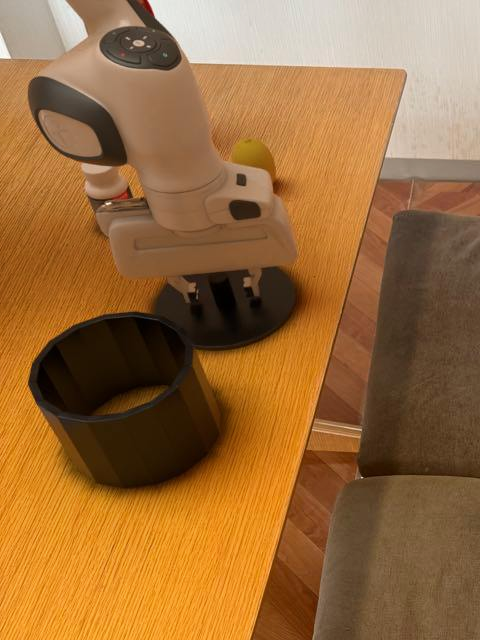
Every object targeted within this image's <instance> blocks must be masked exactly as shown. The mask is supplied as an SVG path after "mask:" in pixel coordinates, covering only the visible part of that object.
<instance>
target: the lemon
mask: <svg viewBox="0 0 480 640" xmlns="http://www.w3.org/2000/svg"><path fill="white" fill-rule="evenodd" d="M231 151H232V152H231V163H235V164H239V165H244V166H249V167H254V168H259V169H263V170H266V171H267V172H268V173H269V174H270V177H271V181H272V185H273V184H274V182H275V180H276V175H277V168H276V162H275V160H274V157H273V155H272V153H271V151H270V149H269V147H268V146H267V145H266V144H265V143H264V142H262V141H261V140H260V139H258V138H254V137H249V136H246V137H244V138H243V139H240V140H239V141H238V142H236V144H235V145H234V146H233V149H232V150H231Z"/></svg>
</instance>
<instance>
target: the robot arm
mask: <svg viewBox="0 0 480 640" xmlns="http://www.w3.org/2000/svg"><path fill="white" fill-rule="evenodd" d="M64 1H65V2H66V3H67V5H68V6H69V7H70V8H71V9H72V10H73V12H75V13H76V15H77V16H78V17H79V18H80V19H81V20H82V22H83V24H84V23H85V25H86V27H87V30H88V34H89V36H88V35H87V37H86V38H84V39H83V40H81V41H80V42H79V43H77V44H76V45H75V46H73V47H72V48H70V49H69V50H68V51H66V52H63V53H62V54H61V55H60V56H58V57H57V58H55V59H54V60H52V61H51V62H50V63H49V64H47V65H46V66H45V67H44V68H41V70H39V71H38V72H37V73H36V75H35V76H34V77H33V78H31V80H30V81H29V83H28V86H27V101H28V107H29V111H30V113H31V116H32V118H33V121H34V122H35V125H36V126H37V128H38V130H39V131H40V133H41V134H42V137H44V139H45V140H46V142H47V143H48V144H49V145H50V146H51V147H52V148H53V149H54V150H55V151H56V152H57V153H59V154H60V155H61V156H64V157H66V158H67V159H70V160H73V161H75V162H78V163H81V164H83V163H86V164H92V165H100V166H111V167H117V168H119V167H124V166H125V165H128V166H131V167H132V168H133V169H134V170H135V172H136V175H137V179H138V181H139V184H140V187H141V189H142V193H143V195H144V196H141V197H134V198H131V199H126V200H109V201H106V202H105V205H102V206H100V207H99V208H98V209H97V211H96V216H95V220H96V222H97V224H98V227H99V229H100V231H101V232H102V233H103V235H104V236H106V237H107V238H108V239H109V245H110V250H111V254H112V257H113V260H114V265H115V267H116V270H117V271H118V272H117V273H118V274H119V275H120V276H122V277H123V278H125V279H126V280H128V281H138V280H149V279H150V280H151V279H161V278H166V280H167V283H169V284H170V285H172V286H173V287H174V288H175V289H177V290H178V291H179V292H181V293H183V296H184V298H185V301H186V303H196V302H199V301H200V300H199V298H200V294H199V290H198V289H197V285H196V283H188V282H187V281H186V280H185V279H184V278H183V277H182V275H192V274H203V273H213V272H223V271H233V270H244V269H248V271H249V274H250V275H251V276H250V277H246V278H244V290H245V292H246V297H256V296H259V286H258V282H259V279H260V277H261V274H262V268H264V267H275V266H276V267H285V266H293V265H294V264H295V263H296V262H297V260H298V258H299V254H300V253H299V242H298V241H299V240H298V237H297V232H296V230H295V227H294V224H293V221H292V219H291V216H290V213H289V211H288V209H287V207H286V204H285V203H284V201H283V200H282V199H281V197H279V195H277V194H276V193H274V187H273V184H272V181H271V177H270V174H269V173H268V172H267V171H266V170H263V169H259V168H254V167H249V166H244V165H239V164H235V163H232V161H231V162H230V161H227V160H224V159H222V155H221V154H220V152H219V150H218V149H217V147H216V146H215V143H214V141H213V125H212V119H211V116H210V112H209V110H208V106H207V103H206V100H205V97H204V94H203V91H202V88H201V85H200V82H199V80H198V77H197V76H196V73H195V71H194V69H193V66H192V64H191V62H190V60H189V58H188V56H187V55H186V53H185V52H184V50H183V48H182V47H181V45H180V44H179V42H178V41H177V39H176V38H175V37H174V36H173V34H172V33H171V32H170V31H169V30H168V29H167V28H166V27H165V26H164V24H162V23H161V22H160V21H159V20H158V19H157V18H156V16H155V17H153V16H152V15H151V14H150V13H149V12H148V11H147V10H146V9H145V8H144V7H143V6H142V5H141V4H140V3H139V2H138V1H137V0H64ZM103 209H104V210H103Z"/></svg>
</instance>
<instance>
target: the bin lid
mask: <svg viewBox="0 0 480 640" xmlns="http://www.w3.org/2000/svg"><path fill="white" fill-rule="evenodd" d="M250 276H251V275H250V274H249V271H248V269H244V270H233V271H223V272H213V273H203V274H192V275H182V277H183V278H184V279H185V280H186V281H187V282H188V283H196V285H197V289H198V290H199V294H200V298H199V300H200V301H199V302H196V303H186V301H185V298H184V296H183V293H181V292H179V291H178V290H177V289H175V288H174V287H173V286H172V285H170V284H169V283H168V282H167V283H166V284H165V285H164V286H163V288H162V289H161V290H160V292H159V294H158V295H157V298H156V299H155V304H154V314H155V315H161V316H164V317H166V318H167V319H169V320H171V321H173V322H174V323H176V324H178V325H180V326H182V327H183V328H184V329H185V331H186V333H187V334H188V336H189V338H190V339H191V341H192V343H193V344H194V347H195V349H196V350H200V351H211V352H212V351H213V352H214V351H228V350H234V349H239V348H242V347H246V346H249V345H253V344H255V343H257V342H259V341H262V340H263V339H266V338H267V337H269V336H271V335H272V334H274V333H275V332H277V331H278V330H279V329H280V328H281V327H282V326H284V324H285V323H286V322H287V321H288V319H289V318H290V317H291V315H292V314H293V311H294V309H295V306H296V299H297V295H296V289H295V286H294V283H293V281H292V280H291V277H290V276H288V274H287V273H286V272H285V271H284V270H282V268H280V267H279V266H275V267H264V268H262V274H261V277H260V279H259V282H258V286H259V296H256V297H246V292H245V290H244V278H246V277H250Z"/></svg>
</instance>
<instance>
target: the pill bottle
mask: <svg viewBox="0 0 480 640" xmlns="http://www.w3.org/2000/svg"><path fill="white" fill-rule="evenodd" d="M80 168H81V171H82V174H83V176H84V178H85V180H86V181H85V183H84V191H85V195H86V197H87V199H88V202H89V204H90V206H91V209H92V211H93V213H94V216H95V217H96V211H97V209H98V208H99V207H100V206H102V205H105V202H106V201H109V200H126V199H131V198H135V197H134V196H133V195H134V194H133V192H132V189H131V187H130V185H129V182H128V180H127V178H126V177H125V176H124V175H123V174H122V173H120V172H119V170H118V167H111V166H100V165H92V164H86V163H81V167H80ZM103 210H104V209H103Z"/></svg>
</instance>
